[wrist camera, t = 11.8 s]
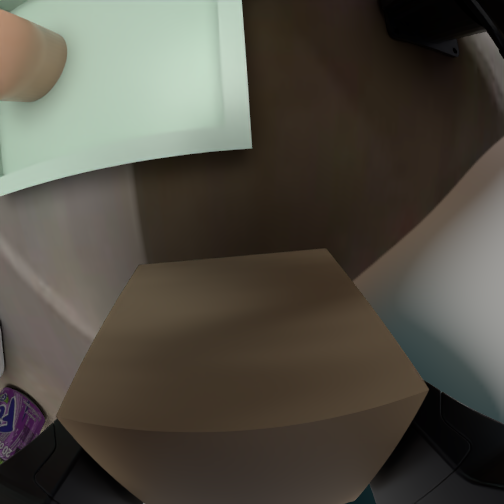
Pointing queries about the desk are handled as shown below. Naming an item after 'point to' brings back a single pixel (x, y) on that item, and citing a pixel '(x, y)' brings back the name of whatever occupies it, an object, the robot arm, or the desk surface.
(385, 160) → the desk surface
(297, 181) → the desk surface
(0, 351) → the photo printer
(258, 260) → the walnut block
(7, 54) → the terracotta cylinder
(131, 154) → the tote
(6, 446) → the beverage can
